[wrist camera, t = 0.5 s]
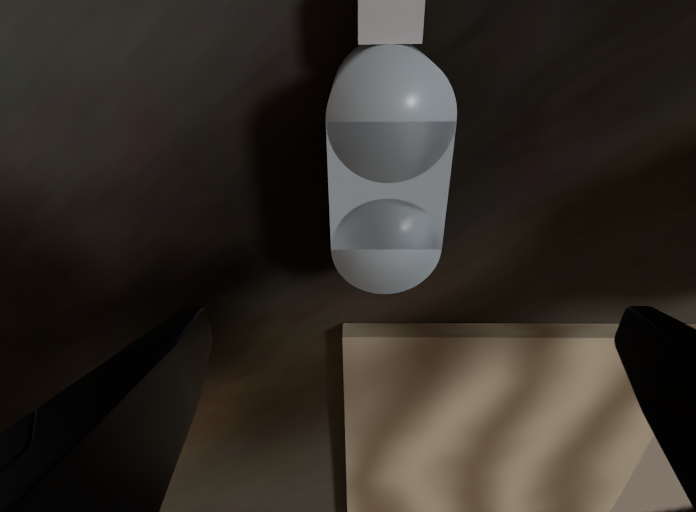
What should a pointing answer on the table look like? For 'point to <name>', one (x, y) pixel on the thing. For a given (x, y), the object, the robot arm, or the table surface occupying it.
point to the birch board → (488, 417)
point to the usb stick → (389, 152)
